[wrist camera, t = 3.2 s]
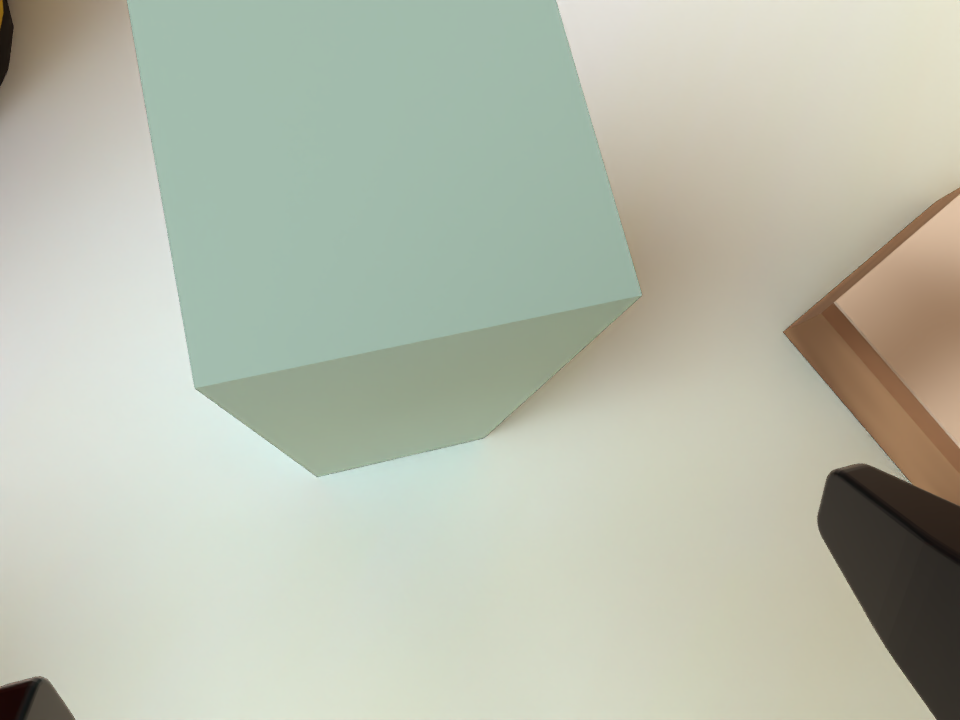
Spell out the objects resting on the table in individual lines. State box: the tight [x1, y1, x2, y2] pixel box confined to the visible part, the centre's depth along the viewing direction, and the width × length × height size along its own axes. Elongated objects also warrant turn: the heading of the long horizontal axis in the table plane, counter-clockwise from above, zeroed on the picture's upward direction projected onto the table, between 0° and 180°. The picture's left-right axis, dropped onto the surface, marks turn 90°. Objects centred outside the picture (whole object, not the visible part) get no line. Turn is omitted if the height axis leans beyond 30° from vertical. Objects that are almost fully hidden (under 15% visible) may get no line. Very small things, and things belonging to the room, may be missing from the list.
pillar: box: [127, 0, 642, 477], centre depth 14 cm, size 4×4×13 cm
